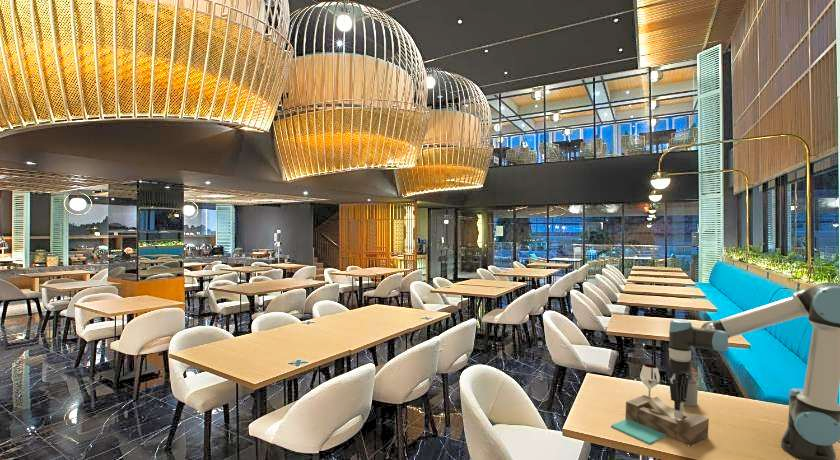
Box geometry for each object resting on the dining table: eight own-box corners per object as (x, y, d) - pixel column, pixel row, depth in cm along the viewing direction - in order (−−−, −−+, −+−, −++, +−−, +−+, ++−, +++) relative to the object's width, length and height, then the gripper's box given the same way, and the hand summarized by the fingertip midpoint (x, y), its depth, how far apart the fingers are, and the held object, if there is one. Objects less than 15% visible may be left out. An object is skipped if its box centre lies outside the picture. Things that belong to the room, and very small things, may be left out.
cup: (672, 400, 205) (673, 379, 204) (683, 397, 208) (684, 377, 208) (689, 407, 197) (690, 386, 197) (701, 404, 200) (701, 383, 200)
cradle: (707, 437, 170) (708, 418, 169) (690, 446, 162) (691, 427, 162) (643, 411, 191) (644, 395, 191) (625, 418, 184) (626, 401, 184)
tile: (684, 428, 173) (687, 424, 172) (677, 431, 170) (681, 427, 169) (654, 400, 183) (657, 396, 182) (647, 403, 180) (650, 399, 179)
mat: (666, 436, 170) (666, 434, 170) (649, 444, 163) (649, 442, 163) (627, 419, 183) (627, 418, 183) (611, 426, 176) (611, 425, 176)
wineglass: (641, 399, 205) (642, 361, 205) (660, 404, 200) (662, 365, 200) (637, 404, 199) (638, 366, 198) (657, 409, 194) (658, 370, 193)
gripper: (678, 354, 179) (676, 410, 179) (661, 359, 172) (660, 417, 172) (697, 358, 173) (696, 417, 173) (681, 364, 165) (680, 425, 166)
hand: (678, 417), depth 172 cm, fingers closed
